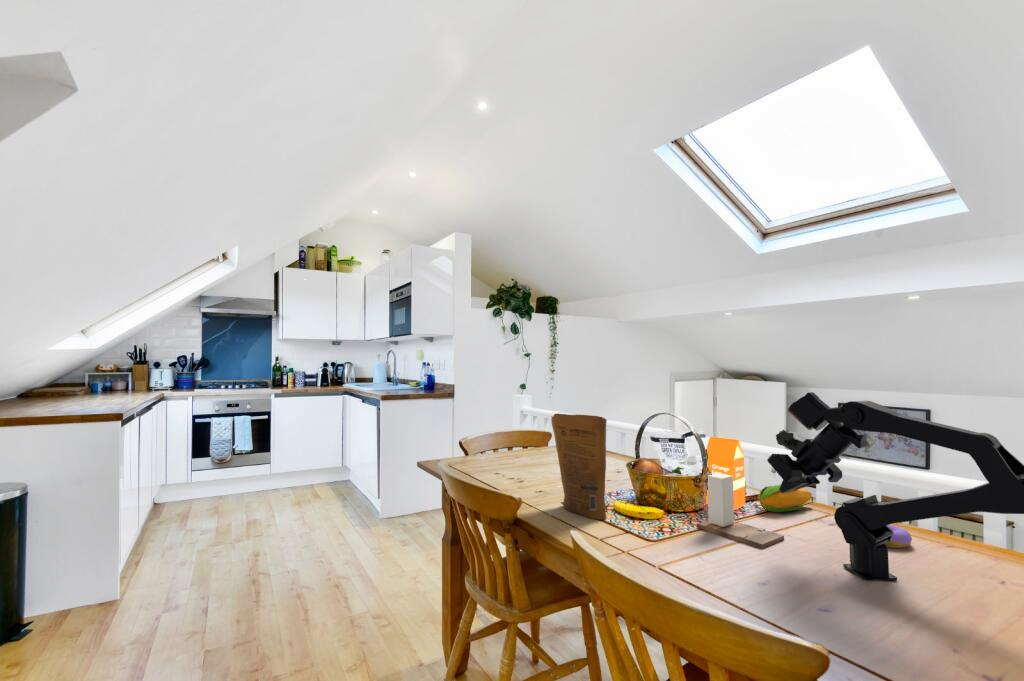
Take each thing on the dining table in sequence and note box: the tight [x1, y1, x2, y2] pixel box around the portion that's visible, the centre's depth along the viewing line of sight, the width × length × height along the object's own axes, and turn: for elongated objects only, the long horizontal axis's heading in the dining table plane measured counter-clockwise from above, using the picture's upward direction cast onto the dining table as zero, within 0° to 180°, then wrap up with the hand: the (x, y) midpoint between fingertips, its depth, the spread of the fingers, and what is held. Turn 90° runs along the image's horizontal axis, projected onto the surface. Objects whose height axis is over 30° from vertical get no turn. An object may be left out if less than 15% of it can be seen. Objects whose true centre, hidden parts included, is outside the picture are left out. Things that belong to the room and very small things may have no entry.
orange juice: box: [706, 436, 746, 510], centre depth 142 cm, size 8×9×20 cm
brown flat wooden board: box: [696, 519, 785, 550], centre depth 118 cm, size 17×10×1 cm, turn 34°
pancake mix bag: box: [550, 413, 608, 520], centre depth 135 cm, size 7×19×28 cm, turn 39°
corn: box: [757, 484, 813, 513], centre depth 138 cm, size 7×8×20 cm
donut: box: [884, 524, 913, 549], centre depth 113 cm, size 10×9×5 cm
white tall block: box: [707, 473, 735, 527], centre depth 123 cm, size 4×5×12 cm
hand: (781, 491), depth 111 cm, fingers closed
